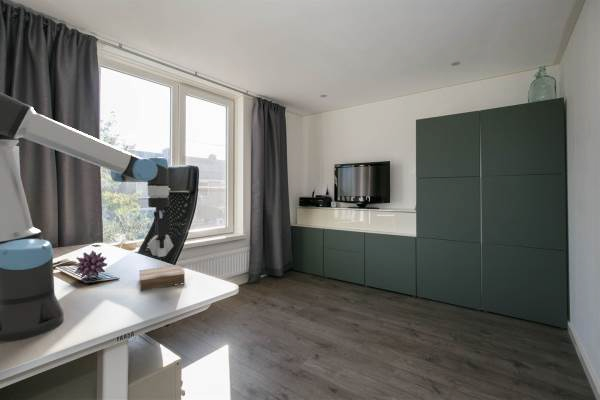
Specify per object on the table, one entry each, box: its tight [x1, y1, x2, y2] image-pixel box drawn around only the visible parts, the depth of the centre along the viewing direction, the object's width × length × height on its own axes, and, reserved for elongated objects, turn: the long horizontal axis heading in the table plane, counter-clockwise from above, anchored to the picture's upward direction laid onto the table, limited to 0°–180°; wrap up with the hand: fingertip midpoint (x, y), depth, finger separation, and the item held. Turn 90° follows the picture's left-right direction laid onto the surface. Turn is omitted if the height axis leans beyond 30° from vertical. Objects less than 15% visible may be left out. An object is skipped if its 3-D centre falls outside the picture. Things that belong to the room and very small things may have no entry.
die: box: [146, 234, 174, 256], centre depth 119 cm, size 8×9×10 cm
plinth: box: [139, 264, 185, 292], centre depth 119 cm, size 15×15×4 cm
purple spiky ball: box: [73, 250, 108, 279], centre depth 125 cm, size 12×12×12 cm
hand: (161, 254), depth 119 cm, fingers closed on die, 8 cm apart
